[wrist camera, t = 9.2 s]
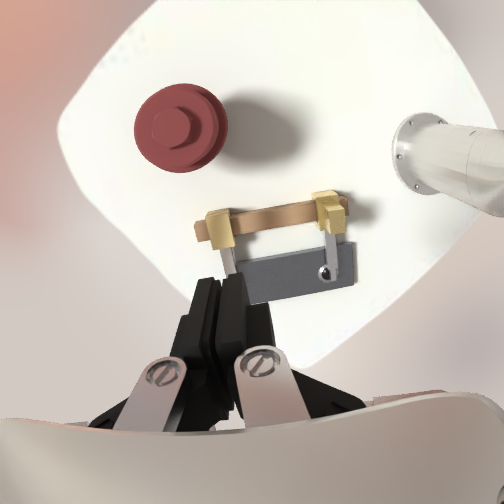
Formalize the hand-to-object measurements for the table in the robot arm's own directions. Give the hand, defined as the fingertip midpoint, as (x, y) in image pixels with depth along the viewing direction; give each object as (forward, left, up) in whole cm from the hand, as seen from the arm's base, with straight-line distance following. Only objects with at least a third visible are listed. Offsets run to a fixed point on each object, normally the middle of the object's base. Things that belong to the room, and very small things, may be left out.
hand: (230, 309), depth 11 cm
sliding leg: (-10, +10, -31) cm, 34 cm away
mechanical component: (+5, -8, -31) cm, 33 cm away
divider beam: (-3, +10, -31) cm, 33 cm away
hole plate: (-5, +16, -31) cm, 35 cm away
